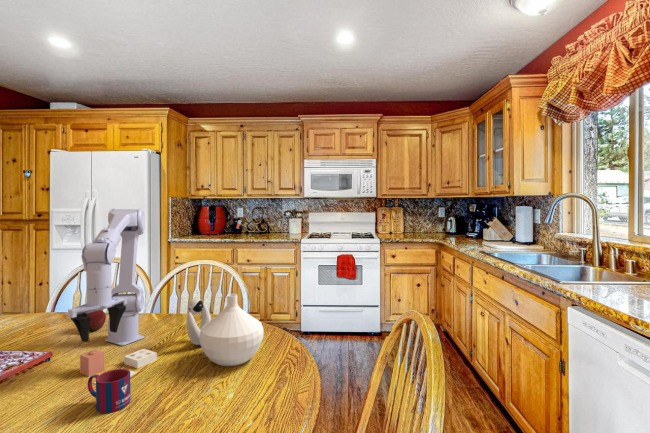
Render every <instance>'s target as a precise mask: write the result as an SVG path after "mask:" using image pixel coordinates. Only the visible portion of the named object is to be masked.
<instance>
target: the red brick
mask: <svg viewBox="0 0 650 433" xmlns="http://www.w3.org/2000/svg"><path fill="white" fill-rule="evenodd" d="M79 362H80V363H79V365H80V366H79V369H80V371H79V373H80V374H82V375H84V376H87V377H91V376H92V375H97V374H98V373H99V374H100V373H101V372H103V371H104V372H105V352H103V351H101V350H98V349H94V350H93V349H92V350H90V351H88V352H85V353H81V354H79Z"/></svg>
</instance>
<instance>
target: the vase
mask: <svg viewBox="0 0 650 433" xmlns="http://www.w3.org/2000/svg"><path fill="white" fill-rule="evenodd" d="M226 299H227V300H226V306H225V307H224V308H223V309H222V310H221V311H220V312H219V313H218V314H217V315H216V316H215V317H213V318H211V320H210V321H209V322H208V323H207V324H205V325H204V326H203V327H202V329H201V332H200V345H201V346H200V347H201V350H202V351H203V353H204V355H205V356H206V357H207V358H208V359H209V360H210V361H211V362H213V363H214V364H216V365H217V366H221V367H236V366H240V365H243V364H245V363H246V362H249V360H251V359H253V357H254V356H255V355H256V354H257V352H258V351H259V349H260V346H261V344H262V342H263V339H264V333H265V332H264V327H263V324H262V322H261V321H260V320H258V319H257V318H255V317H254V316H252V315H251V314H249V313H247V312H246V311H245V310H243V309H242V308H241V307H240V306H239V304H238V294H237V293H229V294H227V295H226Z"/></svg>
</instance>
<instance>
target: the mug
mask: <svg viewBox="0 0 650 433" xmlns="http://www.w3.org/2000/svg"><path fill="white" fill-rule="evenodd" d="M130 371H131V370H129V369H127V368H116V369H115V368H114V369H110V370H107V371H104V372H102V373H99V374H94V375H92V376H89V378H88V380H87V389H88V392H89V393H90V395H91V396H93V397H94V399H95V411H97V412H98V413H100V414H112V413H115V412H118V411H121V410H123V409H125V408H126V407H127V406H128V405H129V404H130V403H131V377H130ZM93 379H95V382H96V384H95V390H94V387H93Z"/></svg>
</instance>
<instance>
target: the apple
mask: <svg viewBox="0 0 650 433" xmlns="http://www.w3.org/2000/svg"><path fill="white" fill-rule="evenodd" d="M86 315H87V316H88V317H91V320H90V324H89V331H98V330H100V329H101V328H103V326H104V324H105V323H106V320H107V316H106V315H107V314H106V312H105V311H103V309H102V310H98V311H94V312H91V313H87V314H86Z"/></svg>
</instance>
